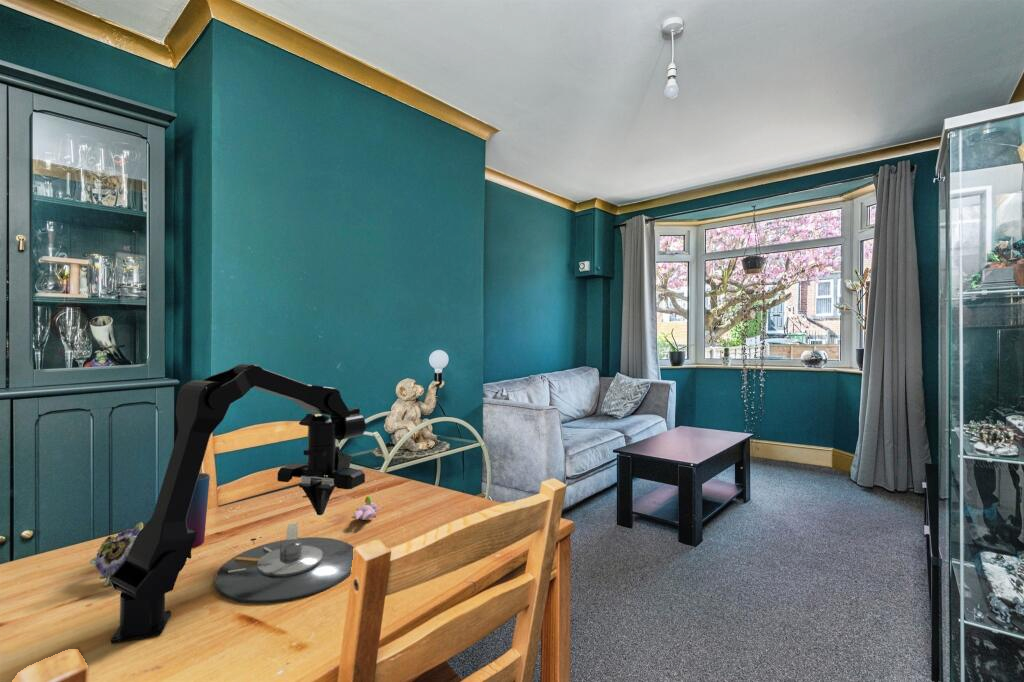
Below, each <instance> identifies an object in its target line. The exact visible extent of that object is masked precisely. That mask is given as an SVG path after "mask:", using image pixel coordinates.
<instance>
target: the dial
mask: <svg viewBox="0 0 1024 682" xmlns="http://www.w3.org/2000/svg"><path fill="white" fill-rule="evenodd" d="M298 525H299V524H298V522H297V523H295V522H294V523H289V524H287V528H286V529H287V530H286V537H285V540H286V541H284V542H282V543H281V544H280V549H277V550H274V551H271V552H269V553H267V554H265V555H264V556H262V557H261V558H260V559H259V560H258V563H257V569H258V571H259V572H260V573H262V574H264V575H268V576H290V575H295V574H299V573H302V572H305V571H308V570H310V569H312V568H314V567H316V566H317V565H318V564H319V563H320V562H321V561H322V558H323V553H322V551H321V550H320V549H319V548H316V547H313V546H304V545H302V541H301V540H299V539H297V538H299V537H298V534H299V533H298V532H299V531H298V530H299V529H298V528H299V526H298Z"/></svg>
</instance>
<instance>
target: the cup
mask: <svg viewBox="0 0 1024 682" xmlns="http://www.w3.org/2000/svg"><path fill="white" fill-rule="evenodd" d="M210 477H211V475H210V474H209V473H207V472H200V473H199V476H198V480H197V483H196V487H195V490H194V494H193V497H192V501H191V504H190V508H189V511H188V514H187V518H186V524H187V529H189V530H192V531H194V532H196V533H197V534H196V539H195V541H194V543H193V546H192V549H194V548H197V547H200V546H202V545H203V544H204V543H205V538H206V537H205V536H206V523H207V512H208V503H209V502H208V501H209V490H210V489H209V488H210V480H211V478H210Z"/></svg>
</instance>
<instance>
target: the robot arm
mask: <svg viewBox="0 0 1024 682" xmlns="http://www.w3.org/2000/svg"><path fill="white" fill-rule="evenodd" d="M252 388H253V389H256V390H260V391H263V392H265V393H270V394H272V395H275V396H278V397H282V398H285V399H289V400H291V401H293V402H295V404H297V405H298V406H299V407H301V408H302V409H305V410H306V411H308V412H309V413H307V414H306V415H305V417H303V418H302V419H301V420H300V421H299V422H298V425H299V426H305V427H307V448H306V449H304V450H303V455H304V456H307V458H306V459H307V460H306V461H307V463H297V462H293V463H290V464H288V465H285V466H282V467H280V468H279V469H278V471H277V475H276V476H277V478H276V479H277V482H281V483H282V482H283V483H289V482H291V480H293V478H301V483H300V484H298V487H299V488H301V489H302V490H303V491H304V493H305V495H306V497H307V498H308V500H309V501H310V503H311V505H312V507H313V509H314V512H315V513H316V515H317V516H323V515H324V513H325V510H326V507H327V506H328V503H329V500H330V497H331V496H332V493H333V491H334V490H335V489H342V490H352V489H355V488H356V487H358V486H360V485H363V484H364V483H365V482H366V474H365V472H364V471H363V469H354V468H350V466H351V461H352V458H353V456H352V455H351V454H350V455H349V454H345V453H343V452H342V453H341V452H340V451H341V449H340V446H337V445H336V444H337V442H336V440H337V441H343V440H347V439H352V438H357V437H360V436H362V435H363V434H364V433H365V431H366V429H367V422H365V421H366V420H365V418H364V416H363V415H362V413H360V408H358V407H350V408H348V406H347V405H346V404H345V402H344V400H343V399H342V396H341V395H342V394H341V391H340V390H339V389H338V388H336V387H330V386H323V385H314V384H307V383H304V382H301V381H299V380H296V379H293V378H290V377H288V376H286V375H285V376H284V375H282V374H280V373H276V372H273V371H271V370H269V369H266V368H263V367H261V366H260V365H257V364H251V363H239V364H237V365H235V366H234V367H231V368H230V369H227V370H224V371H220V372H217V373H216V374H212V375H210V376H207V377H205V378H203V379H201V380H199V379H194V380H191V381H190V380H189V381H188V382H187V383H185V384H183V385H182V386H181V387H180V389H179V391H178V392H177V397H176V398H177V399H176V407H175V415H176V416H175V417H176V421H177V428H178V430H177V435H176V438H175V442H174V445H173V448H172V451H171V455H170V458H169V460H168V464H167V467H166V471H165V475H164V477H163V481H162V483H161V487H160V490H159V494H158V496H157V501H156V504H155V507H154V510H153V511H154V512H153V514H152V516H151V518H150V519H149V520H148V521H147V523H145V524H144V526H143V528H142V530H141V531H140V532H139V533H138V535H137V537H136V539H135V541H134V543H133V545H132V547H131V549H130V551H129V554H128V557H127V558H126V559H125V561H124V562H123V563H122V564H121V565H120V566H119V567H118V569H117V570H116V571H115V572H114V573H113V574H112V575H111V577H110V578H109V581H110V583H111V584H110V585H111V586H112V588H113V589H114V590H118V591H119V592H121V593H120V594H119V598H120V599H119V600H120V601H119V626H118V627H117V629H116V630H115V632H114V634H113V635H112V637H111V638H110V643H111V644H115V643H116V644H117V643H122V642H127V641H133V640H137V639H143V638H149V637H150V638H151V637H155V636H158V635H162V634H163V633H164V630H165V627H166V626H167V624H168V622H169V620H170V618H171V616H172V610H166V594H167V593H169V592H172V591H173V590H174V588H175V585H176V582H177V580H178V577H179V574H180V572H181V571H182V570H183V569H184V567H185V565H186V562H187V561H188V559H189V560H190V559H191V558H192V549H193V548H192V546H193V543H194V541H195V539H196V534H197V533H196V532H194V531H192V530H189V529H187V524H186V518H187V514H188V511H189V508H190V504H191V501H192V497H193V494H194V490H195V487H196V483H197V480H198V476H199V473H201V470H202V469H201V468H202V466H203V462H204V458H205V455H206V451H207V448H208V445H209V441H210V437H211V435H212V434H213V432H214V431H215V430H216V429H217V428H218V426H219V425H220V424H222V422H223V421H224V419H225V417H226V415H227V413H228V411H229V408H230V407H231V404H233V403H234V402H236V401H238V400H240V399H241V398H243V397H244V396H245V395H246V394H247V393H248V392H249V391H250V390H251V389H252ZM310 412H311V413H310ZM313 413H318V414H320V415H317V416H316V415H315V414H313ZM342 469H344V470H343V471H341V470H342ZM336 471H340V472H336Z"/></svg>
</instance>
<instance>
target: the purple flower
mask: <svg viewBox="0 0 1024 682" xmlns="http://www.w3.org/2000/svg"><path fill="white" fill-rule="evenodd" d="M364 503H365V504H364V505H362V506H360V507H359V508H358V507H357V508H356V511H355V512H354V513H353V515H354V518H355V520H359V519H360V520H362V521H364V520H366V521H368V520H367V519H369V520H370V519H373V518H374V517H376V515H377V512H379V511H381V509H382V508H381V507H378V502H375V503H374V502H372V499H371V497H370V495H368V494H367V496H366V497H365V500H364ZM377 507H378V508H377ZM375 511H376V512H375Z"/></svg>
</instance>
